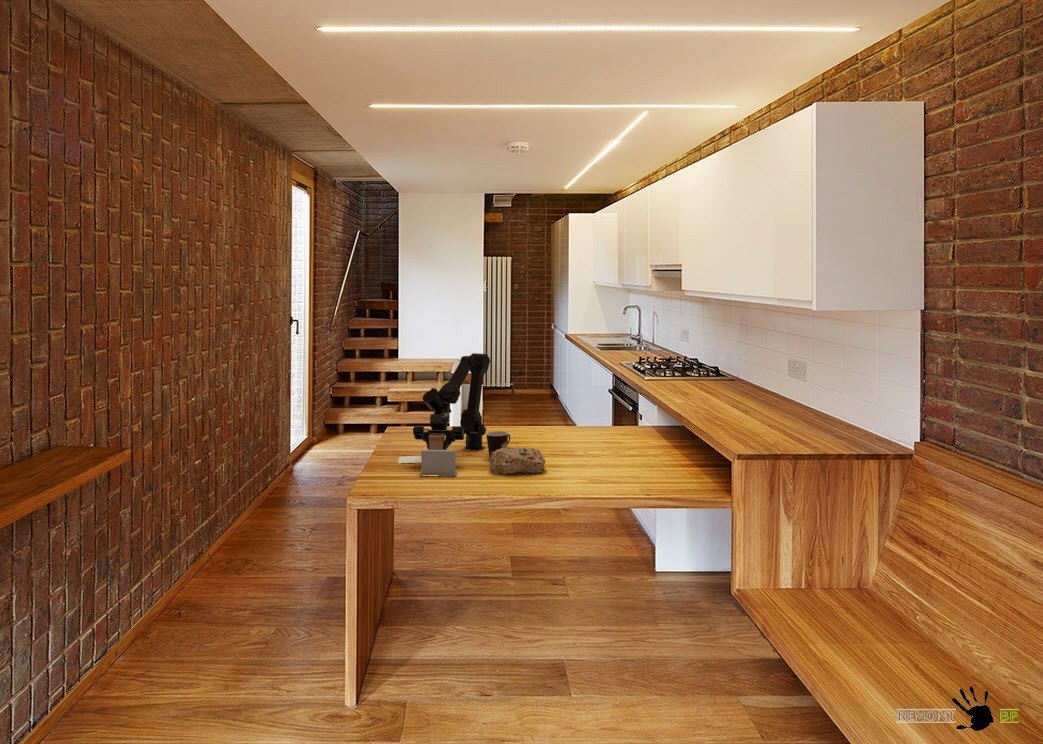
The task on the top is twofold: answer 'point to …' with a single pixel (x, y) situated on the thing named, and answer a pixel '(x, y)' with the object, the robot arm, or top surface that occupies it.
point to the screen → (438, 462)
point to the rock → (516, 460)
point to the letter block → (436, 441)
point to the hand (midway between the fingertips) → (436, 452)
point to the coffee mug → (497, 440)
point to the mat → (409, 459)
